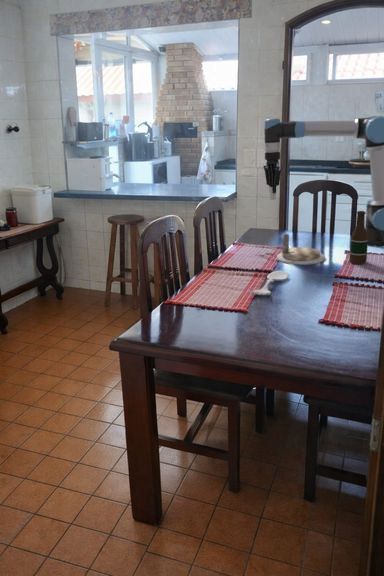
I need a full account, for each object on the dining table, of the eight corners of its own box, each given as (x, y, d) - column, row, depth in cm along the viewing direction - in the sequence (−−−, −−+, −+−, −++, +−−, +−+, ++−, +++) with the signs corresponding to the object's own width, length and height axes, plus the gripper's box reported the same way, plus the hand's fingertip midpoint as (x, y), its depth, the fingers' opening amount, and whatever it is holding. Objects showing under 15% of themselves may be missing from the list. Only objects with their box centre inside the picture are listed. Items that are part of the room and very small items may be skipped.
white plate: (297, 249, 266) (297, 247, 266) (334, 257, 249) (334, 255, 249) (267, 258, 253) (267, 256, 252) (304, 267, 236) (304, 265, 235)
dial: (315, 250, 259) (315, 229, 255) (323, 260, 242) (324, 237, 238) (279, 251, 259) (279, 230, 256) (285, 261, 242) (285, 238, 239)
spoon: (247, 298, 201) (246, 290, 200) (271, 275, 228) (271, 267, 227) (269, 301, 197) (269, 292, 196) (291, 277, 224) (291, 269, 223)
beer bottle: (364, 260, 244) (368, 209, 236) (368, 264, 237) (372, 212, 229) (347, 260, 245) (350, 210, 237) (350, 264, 237) (354, 213, 230)
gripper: (258, 151, 258) (259, 199, 265) (273, 152, 247) (274, 201, 254) (271, 150, 261) (271, 197, 268) (286, 151, 250) (286, 199, 257)
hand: (272, 199), depth 261 cm, fingers closed
